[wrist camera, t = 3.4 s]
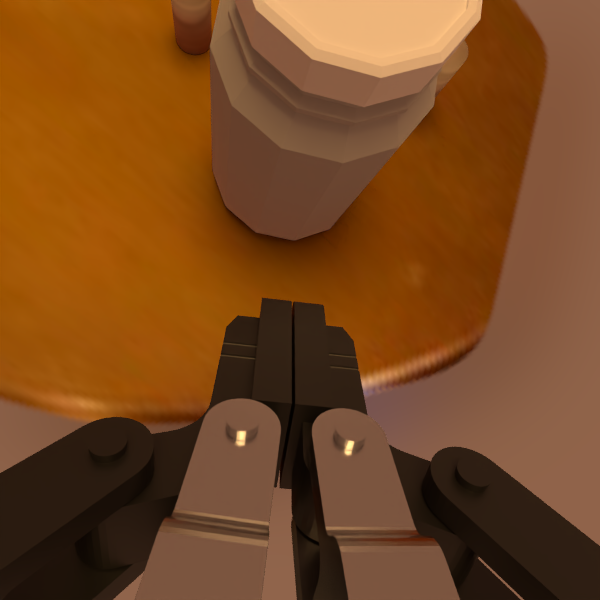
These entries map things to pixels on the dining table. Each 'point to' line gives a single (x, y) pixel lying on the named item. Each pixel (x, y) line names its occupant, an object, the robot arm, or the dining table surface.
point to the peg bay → (197, 35)
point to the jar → (320, 99)
